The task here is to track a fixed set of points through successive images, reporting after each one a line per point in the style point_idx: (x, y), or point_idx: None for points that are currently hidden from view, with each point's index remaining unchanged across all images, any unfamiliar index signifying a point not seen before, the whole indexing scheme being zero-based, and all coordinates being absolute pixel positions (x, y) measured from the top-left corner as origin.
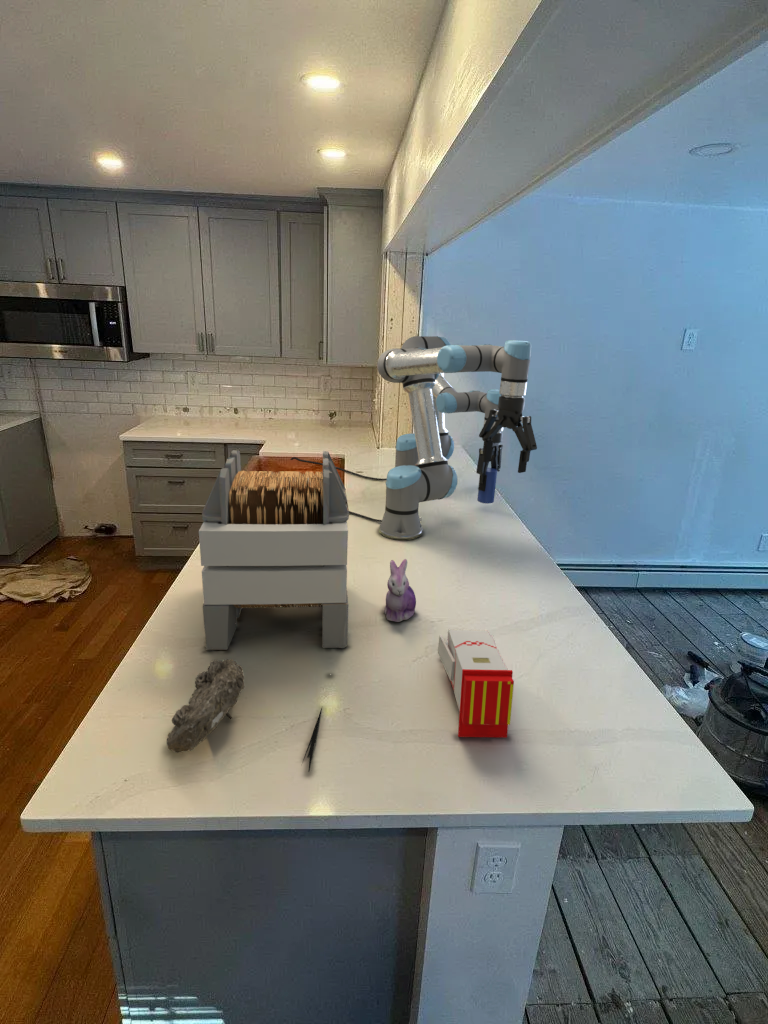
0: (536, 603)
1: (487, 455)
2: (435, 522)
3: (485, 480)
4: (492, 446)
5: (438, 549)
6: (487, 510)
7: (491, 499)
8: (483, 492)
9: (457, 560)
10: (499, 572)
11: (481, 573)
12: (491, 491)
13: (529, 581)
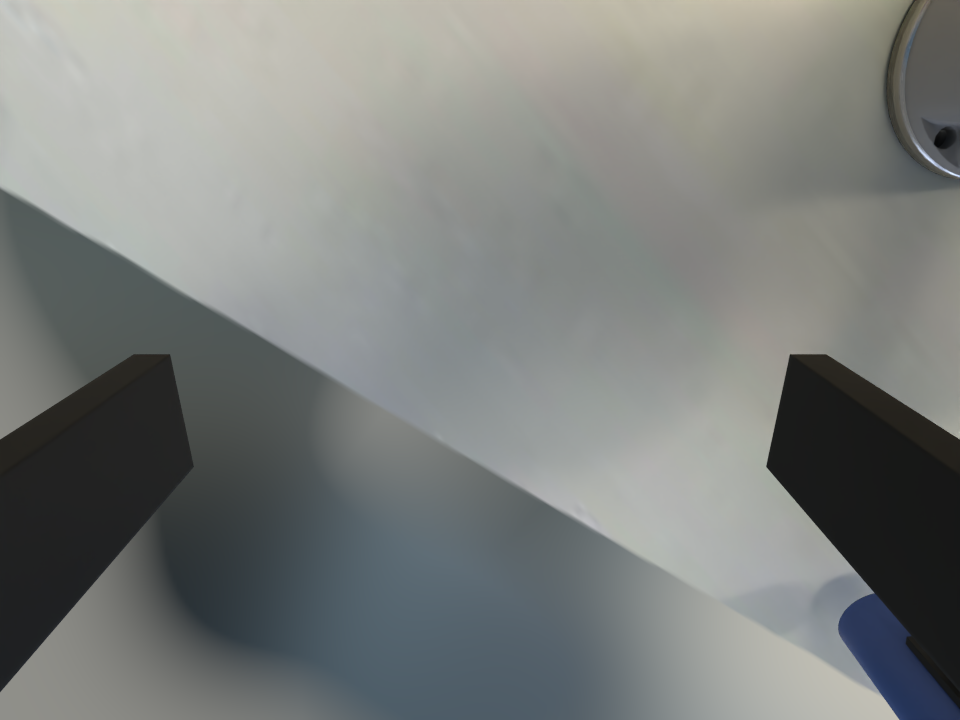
0: (72, 32)
1: (841, 439)
2: (936, 316)
3: (950, 690)
4: (915, 639)
5: (719, 77)
6: (839, 596)
7: (851, 632)
8: (907, 635)
9: (572, 62)
10: (372, 139)
11: (406, 53)
12: (879, 663)
13: (245, 183)
